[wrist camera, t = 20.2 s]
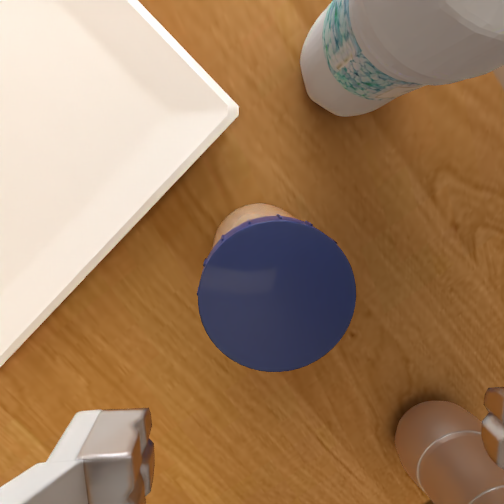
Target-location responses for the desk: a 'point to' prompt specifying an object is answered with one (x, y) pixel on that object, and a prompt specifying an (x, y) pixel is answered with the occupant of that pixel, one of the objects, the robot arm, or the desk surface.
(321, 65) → the bottle
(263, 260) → the lid
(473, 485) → the silver ringed container
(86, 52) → the plate
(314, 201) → the desk surface
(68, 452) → the robot arm
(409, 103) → the desk surface
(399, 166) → the desk surface
